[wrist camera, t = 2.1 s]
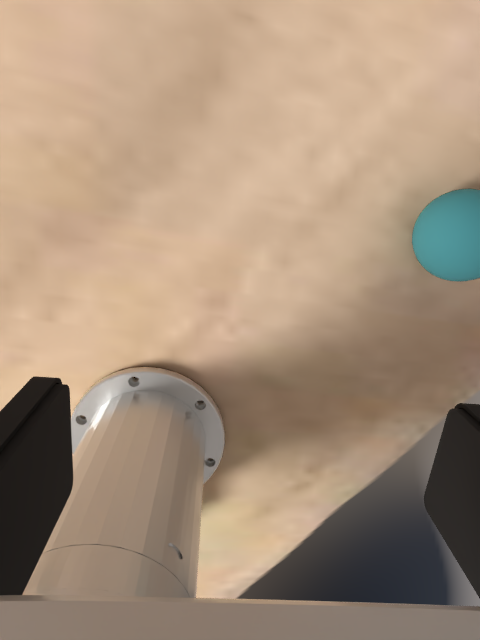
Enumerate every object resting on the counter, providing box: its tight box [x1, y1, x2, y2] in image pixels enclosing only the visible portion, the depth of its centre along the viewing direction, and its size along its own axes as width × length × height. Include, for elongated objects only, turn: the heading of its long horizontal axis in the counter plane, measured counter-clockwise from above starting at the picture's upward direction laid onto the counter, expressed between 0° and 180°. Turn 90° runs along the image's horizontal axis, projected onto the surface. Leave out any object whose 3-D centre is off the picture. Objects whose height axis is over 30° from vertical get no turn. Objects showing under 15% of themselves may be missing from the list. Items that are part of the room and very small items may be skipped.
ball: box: [412, 189, 480, 281], centre depth 28 cm, size 6×6×6 cm
